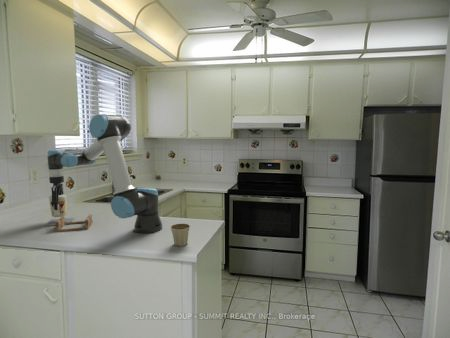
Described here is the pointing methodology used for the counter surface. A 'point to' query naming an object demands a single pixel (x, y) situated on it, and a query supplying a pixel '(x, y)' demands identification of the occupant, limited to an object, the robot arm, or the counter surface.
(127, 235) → the counter surface
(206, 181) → the counter surface
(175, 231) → the flower pot
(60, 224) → the cradle
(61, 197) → the coffee cup
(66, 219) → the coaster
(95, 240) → the counter surface
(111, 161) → the robot arm
